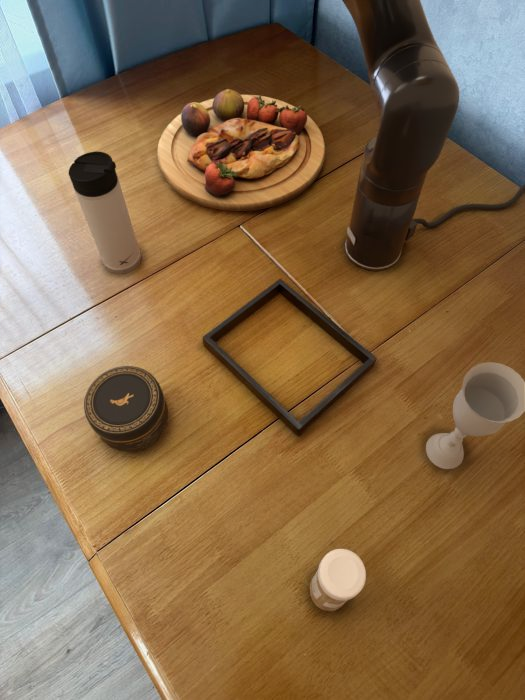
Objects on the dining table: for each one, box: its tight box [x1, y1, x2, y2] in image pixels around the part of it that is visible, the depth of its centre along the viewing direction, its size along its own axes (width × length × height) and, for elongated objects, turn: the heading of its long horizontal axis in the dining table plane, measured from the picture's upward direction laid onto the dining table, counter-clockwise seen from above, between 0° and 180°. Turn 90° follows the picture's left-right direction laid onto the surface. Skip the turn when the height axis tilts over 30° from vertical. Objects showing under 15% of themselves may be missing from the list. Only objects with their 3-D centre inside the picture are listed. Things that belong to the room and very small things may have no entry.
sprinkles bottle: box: [309, 548, 367, 612], centre depth 57 cm, size 5×5×13 cm
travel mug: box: [68, 150, 142, 275], centre depth 80 cm, size 6×7×20 cm
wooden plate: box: [156, 88, 327, 212], centre depth 98 cm, size 32×32×8 cm
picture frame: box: [201, 278, 378, 437], centre depth 78 cm, size 16×20×2 cm
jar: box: [83, 365, 169, 453], centre depth 70 cm, size 10×10×8 cm
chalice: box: [425, 361, 525, 470], centre depth 63 cm, size 7×7×18 cm
